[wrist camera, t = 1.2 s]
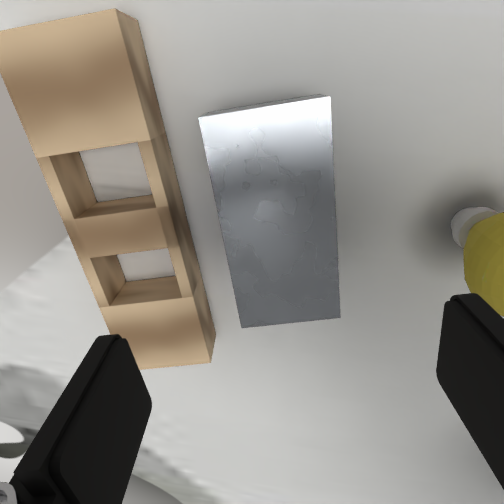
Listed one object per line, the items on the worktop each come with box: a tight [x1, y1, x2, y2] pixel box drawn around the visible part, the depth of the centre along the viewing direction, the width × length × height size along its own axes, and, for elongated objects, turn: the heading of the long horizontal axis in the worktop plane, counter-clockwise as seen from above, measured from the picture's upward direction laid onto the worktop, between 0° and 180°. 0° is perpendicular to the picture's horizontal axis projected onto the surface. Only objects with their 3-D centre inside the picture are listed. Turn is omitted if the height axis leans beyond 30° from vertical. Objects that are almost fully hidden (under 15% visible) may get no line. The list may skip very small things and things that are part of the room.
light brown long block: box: [0, 9, 216, 370], centre depth 24 cm, size 24×7×4 cm, turn 9°
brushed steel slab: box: [198, 94, 340, 328], centre depth 22 cm, size 13×6×6 cm, turn 9°
